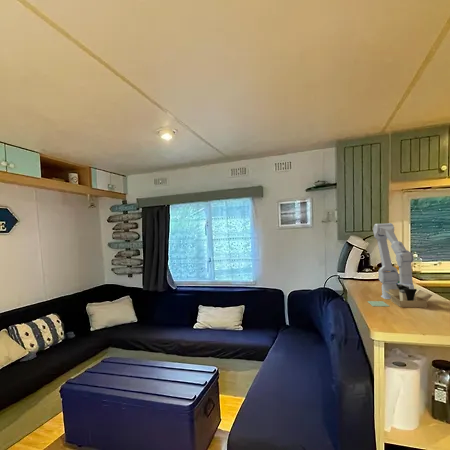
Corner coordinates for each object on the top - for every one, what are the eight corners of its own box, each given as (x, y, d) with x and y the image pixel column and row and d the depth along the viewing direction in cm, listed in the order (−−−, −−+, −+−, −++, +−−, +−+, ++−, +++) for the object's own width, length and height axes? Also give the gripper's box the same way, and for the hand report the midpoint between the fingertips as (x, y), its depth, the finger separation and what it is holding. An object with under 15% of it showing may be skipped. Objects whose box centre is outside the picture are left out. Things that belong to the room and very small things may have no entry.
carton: (383, 300, 168) (382, 289, 169) (418, 300, 164) (417, 288, 165) (394, 307, 151) (393, 295, 151) (433, 308, 147) (432, 294, 147)
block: (400, 303, 159) (399, 289, 159) (412, 303, 158) (411, 289, 158) (403, 304, 155) (402, 291, 155) (416, 304, 153) (414, 291, 154)
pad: (367, 302, 166) (367, 301, 166) (382, 302, 164) (382, 301, 164) (372, 307, 154) (372, 305, 154) (389, 307, 153) (389, 306, 153)
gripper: (392, 273, 165) (394, 298, 164) (402, 276, 151) (404, 303, 150) (406, 273, 163) (408, 298, 163) (417, 276, 149) (419, 303, 149)
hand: (407, 300), depth 156 cm, fingers open, 7 cm apart
